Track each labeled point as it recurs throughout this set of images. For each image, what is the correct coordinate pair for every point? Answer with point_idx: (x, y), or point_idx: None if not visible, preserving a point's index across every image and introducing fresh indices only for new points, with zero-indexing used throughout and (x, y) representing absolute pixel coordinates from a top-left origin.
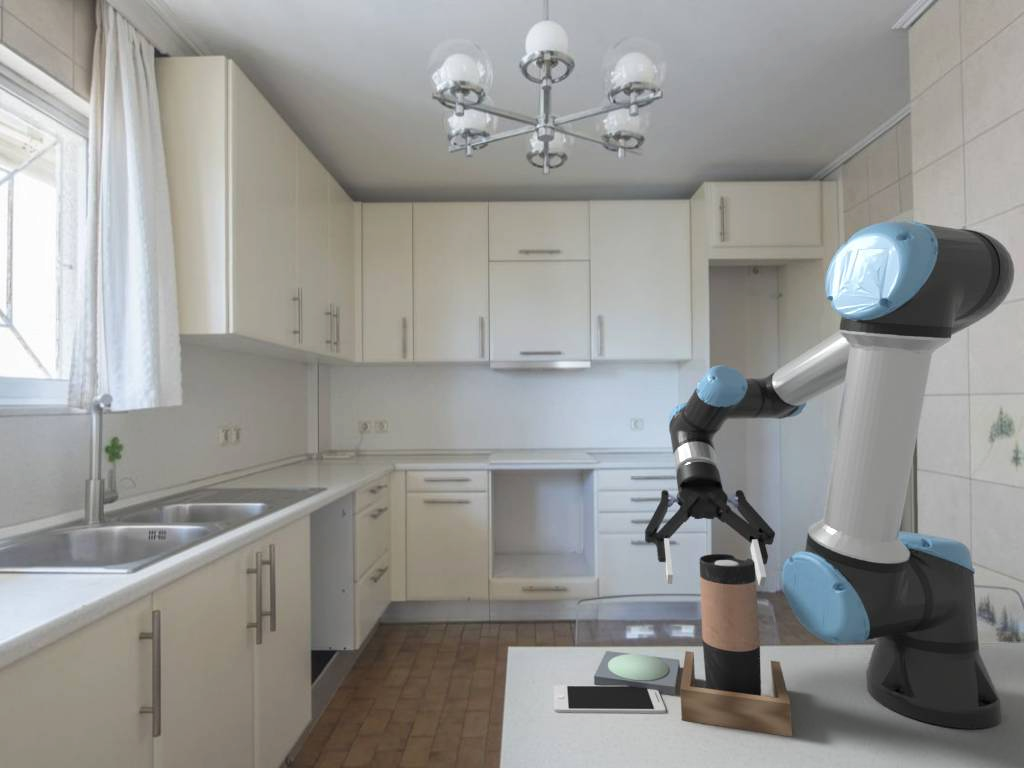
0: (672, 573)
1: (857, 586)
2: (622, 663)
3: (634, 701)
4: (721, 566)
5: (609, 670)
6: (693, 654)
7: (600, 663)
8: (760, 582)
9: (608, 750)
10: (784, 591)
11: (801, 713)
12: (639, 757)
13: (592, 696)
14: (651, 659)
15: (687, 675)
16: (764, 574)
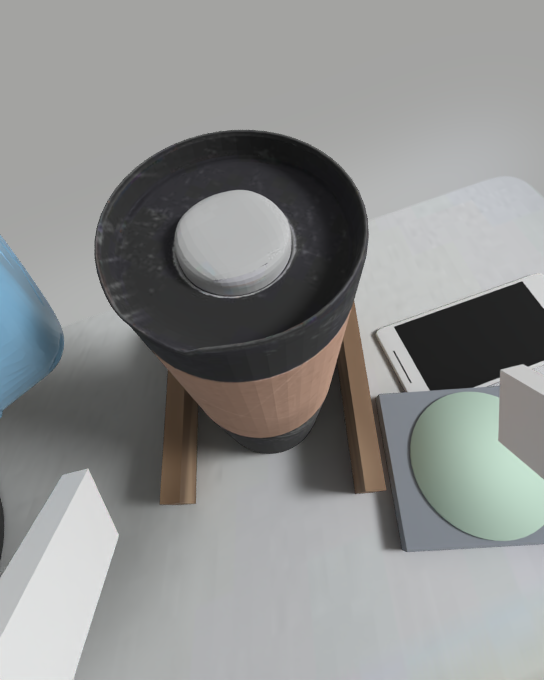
0: (506, 372)
1: None
2: (523, 463)
3: (433, 338)
4: (251, 131)
5: None
6: (363, 478)
7: None
8: (104, 510)
9: (417, 221)
10: (45, 318)
11: (158, 413)
12: (376, 221)
13: (509, 329)
14: (470, 515)
15: (352, 353)
16: (64, 483)
